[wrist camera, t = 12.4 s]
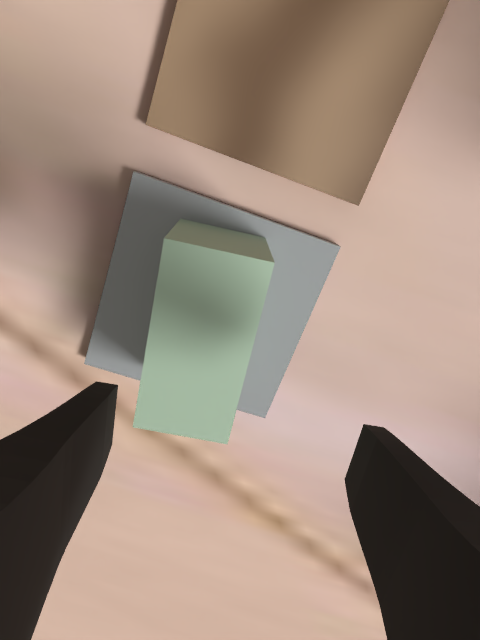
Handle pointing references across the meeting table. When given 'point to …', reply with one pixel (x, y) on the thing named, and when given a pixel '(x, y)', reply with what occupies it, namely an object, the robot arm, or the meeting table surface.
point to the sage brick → (202, 330)
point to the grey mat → (142, 272)
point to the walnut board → (293, 82)
